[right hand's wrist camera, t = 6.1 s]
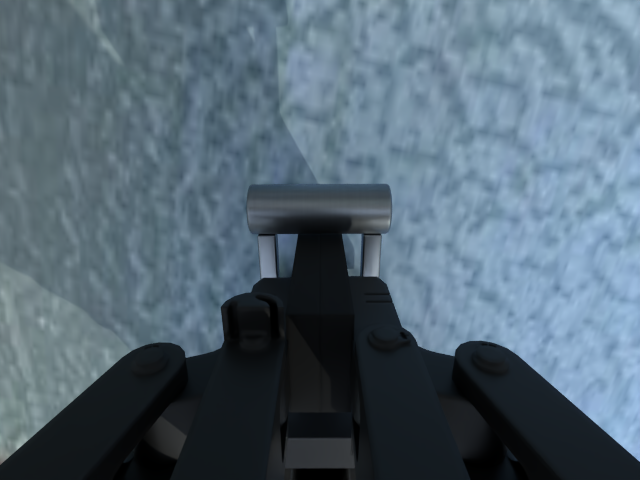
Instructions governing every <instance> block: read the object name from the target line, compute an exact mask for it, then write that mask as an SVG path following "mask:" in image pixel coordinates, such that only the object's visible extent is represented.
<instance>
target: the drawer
mask: <svg viewBox="0 0 640 480" xmlns="http://www.w3.org/2000/svg"><path fill="white" fill-rule="evenodd" d="M391 220H392V196H391V190H390V187H389V185H387V184H274V185H251V186H250V187H249V190H248V194H247V222H248V227H249V230H250V232H251V233H252V234H259V235H258V249H259V263H260V277H261V279H262V278H280V275H279V254H278V234H362V241H361V268H360V276H377V277H378V278H379V272H380V255H381V238H382V236H381V234H386V233H388V232H389V229H390V226H391ZM351 431H352V406H351V412H289V408H288V442H287V453H286V464H285V475H284V480H356V474H355V463H354V456H351Z"/></svg>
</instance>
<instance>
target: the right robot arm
mask: <svg viewBox="0 0 640 480" xmlns="http://www.w3.org/2000/svg"><path fill="white" fill-rule="evenodd" d="M221 313H222V322H223V332H224V343H223V345H222V348H220V349H218V350H216V351H214V352H210V353H207V354H203V355H198V356H193V357H188V358H186V357H185V351H184V350H183V349H182V348H181V347H180V346H178V345H175V344H172V343H153V344H148V345H145V346H142V347H140V348H137V349H135V350H133V351H131V352H130V353H128V354H127V355H125V356H124V357H122V358H121V359H120V360H119V361H118V362H117V363H116V364H114V365H113V366H112V367H111V368H110V369H109V370H108V371H107V372H105V373H104V374H103V375H102V376H101V377H100V378H99V379H97V380H96V381H95V382H94V383H93V384H92V385H91V386H89V387H88V388H87V389H86V390H85V391H84V392H83V393H82V394H80V395H79V396H78V397H77V398H76V399H75V400H74V401H72V402H71V403H70V404H69V405H68V406H67V407H66V408H64V409H63V410H62V411H61V412H60V413H59V414H58V415H57V416H55V417H54V418H53V419H52V420H51V421H50V422H49V423H47V424H46V425H45V426H44V427H43V428H42V429H41V430H40V431H38V432H37V433H36V434H35V435H34V436H33V437H32V438H30V439H29V440H28V441H27V442H26V443H25V444H24V445H22V446H21V447H20V448H19V449H18V450H17V451H16V452H15V453H13V454H12V455H11V456H10V457H9V458H8V459H7V460H5V461H4V462H3V463H2V464H1V465H0V480H284V475H285V464H286V453H287V442H288V408H289V412H351V406H352V431H351V456H354V463H355V474H356V480H640V462H639V461H638V460H637V459H636V458H635V457H633V456H632V455H631V454H630V453H629V452H628V451H627V450H625V449H624V448H623V447H622V446H621V445H620V444H619V443H617V442H616V441H615V440H614V439H613V438H612V437H611V436H609V435H608V434H607V433H606V432H605V431H604V430H602V429H601V428H600V427H599V426H598V425H597V424H596V423H594V422H593V421H592V420H591V419H590V418H589V417H588V416H586V415H585V414H584V413H583V412H582V411H581V410H580V409H578V408H577V407H576V406H575V405H574V404H573V403H572V402H570V401H569V400H568V399H567V398H566V397H565V396H564V395H562V394H561V393H560V392H559V391H558V390H557V389H556V388H554V387H553V386H552V385H551V384H550V383H549V382H548V381H546V380H545V379H544V378H543V377H542V376H541V375H540V374H538V373H537V372H536V371H535V370H534V369H533V368H531V367H530V366H529V365H528V364H527V363H526V362H525V361H523V360H522V359H521V358H520V357H519V356H518V355H516V354H515V353H513V352H512V351H510V350H509V349H507V348H505V347H502V346H500V345H497V344H495V343H491V342H485V341H469V342H466V343H463V344H461V345H460V346H459V347H458V348H457V349H456V351H455V356H450V355H445V354H440V353H436V352H432V351H429V350H426V349H423V348H421V347H419V346H418V345H417V342H416V340H415V338H414V337H413V335H412V334H411V333H410V332H409V331H407V330H405V329H404V328H402V326H401V324H400V321H399V318H398V315H397V312H396V310H395V307H394V304H393V303H392V298H391V296H390V293H389V290H388V287H387V284H386V283H384V282H383V281H382V280H381V279H379V278H378V277H377V276H348V270H347V264H346V258H345V252H344V245H343V239H342V234H298V239H297V246H296V252H295V258H294V264H293V271H292V277H291V278H262V279H261V280H260V281H258V282H257V283H256V284H255V285H254V286H253V289H252V292H251V293H244V294H241V295H237V296H234V297H233V298H231V299H229V300H227V301H226V302H225V303H224V304H223V305H222V306H221Z"/></svg>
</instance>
